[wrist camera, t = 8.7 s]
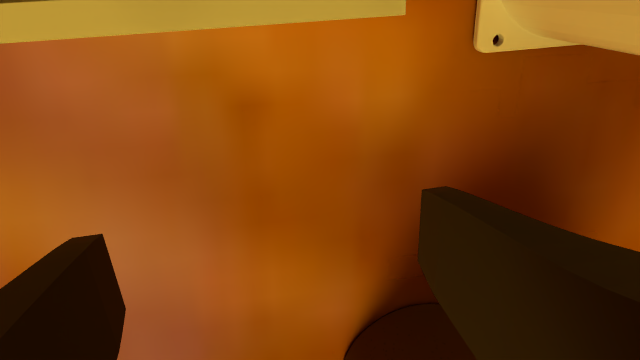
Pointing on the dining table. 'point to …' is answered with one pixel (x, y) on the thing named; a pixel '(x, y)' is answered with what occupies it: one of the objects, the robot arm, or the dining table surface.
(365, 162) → the dining table surface
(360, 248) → the dining table surface
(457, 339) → the olive oil
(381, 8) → the cream square frame
